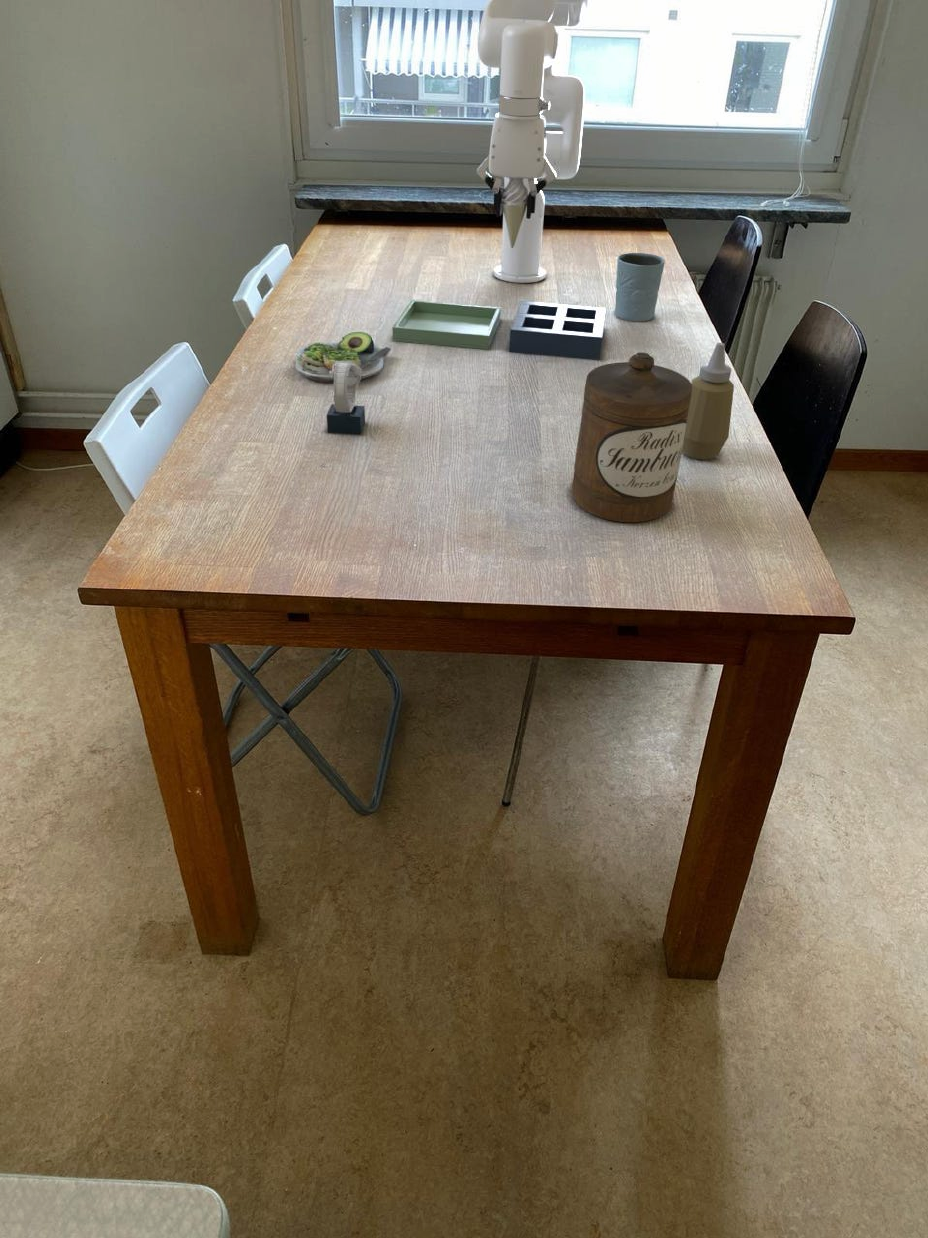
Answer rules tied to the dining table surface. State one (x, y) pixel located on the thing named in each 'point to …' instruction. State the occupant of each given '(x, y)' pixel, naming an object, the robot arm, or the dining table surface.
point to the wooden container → (630, 439)
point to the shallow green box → (447, 324)
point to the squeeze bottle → (709, 408)
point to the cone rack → (558, 330)
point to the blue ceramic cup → (637, 285)
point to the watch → (345, 400)
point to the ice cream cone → (514, 207)
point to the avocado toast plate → (340, 357)
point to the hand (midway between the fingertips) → (513, 214)
